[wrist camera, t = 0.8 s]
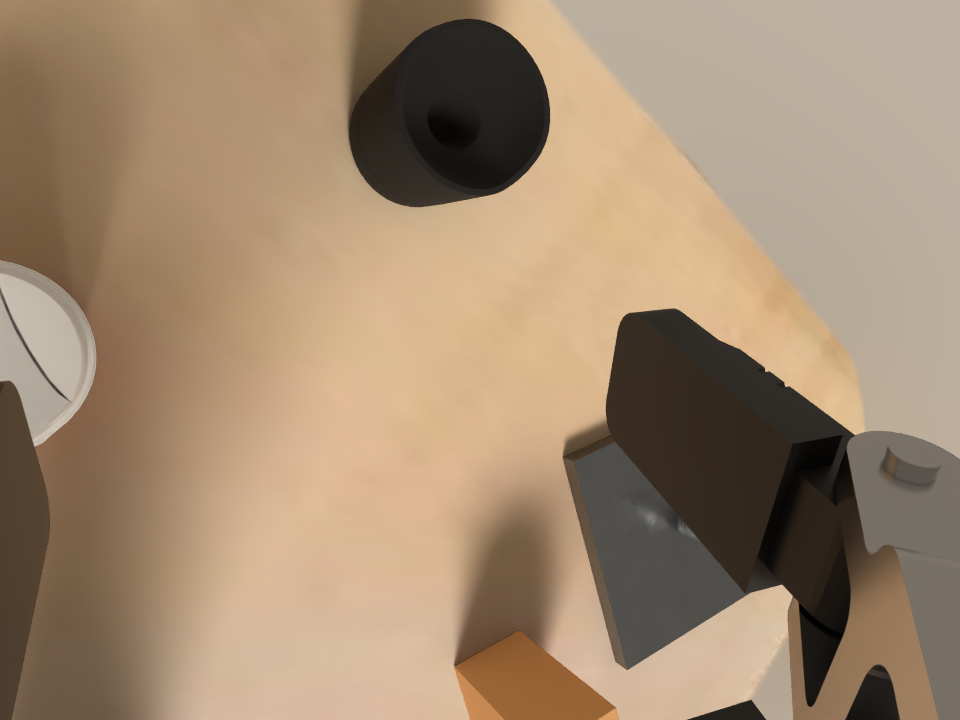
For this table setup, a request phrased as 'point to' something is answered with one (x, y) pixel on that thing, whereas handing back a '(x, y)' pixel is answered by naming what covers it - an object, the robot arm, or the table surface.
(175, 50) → the table surface
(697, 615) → the shaft stand
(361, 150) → the pen holder
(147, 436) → the table surface
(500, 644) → the tan rectangular holder
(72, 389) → the paper cup
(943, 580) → the robot arm
